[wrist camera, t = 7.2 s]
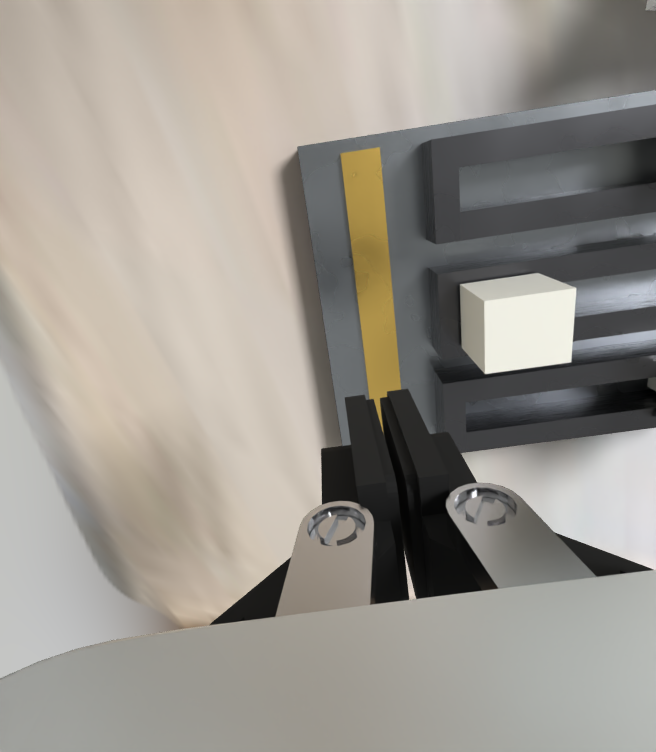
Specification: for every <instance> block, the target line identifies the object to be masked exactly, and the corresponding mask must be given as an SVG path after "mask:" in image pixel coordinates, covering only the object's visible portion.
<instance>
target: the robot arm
mask: <svg viewBox="0 0 656 752" xmlns="http://www.w3.org/2000/svg"><path fill="white" fill-rule="evenodd" d="M345 405H346V412H347V420H348V427H349V435H350V442H351V445H345V446H338V447H331V448H323V449H321V463H322V505H320V506H318V507H316V508H315V509H313V510H311V511H310V512H309V513H308V514H307V515H306V516H305V517H304V518H303V520H302V522H301V524H300V527H299V530H298V534H297V538H296V542H295V545H294V549H293V553H292V556H291V558H289V559H288V560H287V561H286V562H285V563H283V564H282V565H281V566H280V567H278V568H277V569H276V570H275V571H274V572H272V573H271V574H270V575H269V576H268V577H266V578H265V579H264V580H263V581H262V582H260V583H259V584H258V585H257V586H256V587H254V588H253V589H252V590H251V591H250V592H248V593H247V594H246V595H245V596H243V597H242V598H241V599H240V600H239V601H237V602H236V603H235V604H234V605H233V606H231V607H230V608H229V609H228V610H227V611H225V612H224V613H223V614H222V615H221V616H219V617H218V618H217V619H216V620H214V621H213V622H212V623H211V624H210V625H209V626H201V627H194V628H186V629H179V630H173V631H166V632H160V633H154V634H148V635H142V636H136V637H130V638H123V639H117V640H111V641H107V642H104V643H99V644H95V645H91V646H86V647H82V648H78V649H75V650H72V651H69V652H66V653H63V654H60V655H57V656H54V657H51V658H48V659H45V660H42V661H39V662H37V663H34V664H33V665H30V666H28V667H25V668H23V669H21V670H19V671H16V672H14V673H12V674H9V675H7V676H5V677H3V678H0V752H656V570H653V569H651V568H648V567H645V566H643V565H640V564H637V563H635V562H632V561H629V560H627V559H624V558H621V557H619V556H616V555H613V554H611V553H608V552H605V551H603V550H600V549H597V548H595V547H592V546H589V545H586V544H584V543H581V542H578V541H576V540H573V539H570V538H568V537H565V536H562V535H560V534H557V533H554V532H553V531H552V530H551V528H550V527H549V526H548V525H547V524H546V523H545V522H544V521H543V520H542V519H541V518H540V517H539V516H538V515H537V514H536V513H535V512H534V511H533V510H532V509H531V508H530V507H529V505H528V504H527V503H526V502H525V501H524V500H523V499H522V498H521V497H520V496H518V495H517V494H516V493H515V492H513V491H512V490H510V489H507V488H505V487H503V486H500V485H495V484H491V483H477V482H476V480H475V478H474V476H473V475H472V473H471V471H470V469H469V467H468V466H467V464H466V462H465V460H464V458H463V457H462V455H461V453H460V451H459V450H458V448H457V446H456V444H455V442H454V441H453V439H452V437H451V435H450V434H449V433H448V432H441V433H434V434H429V431H428V429H427V427H426V425H425V423H424V421H423V419H422V417H421V415H420V413H419V410H418V408H417V406H416V404H415V402H414V400H413V398H412V396H411V394H410V392H409V390H408V389H401V390H394V391H387V397H383V398H380V407H381V416H382V425H383V431H382V427H381V423H380V420H379V416H378V413H377V409H376V405H375V402H374V399H368V400H366V398H365V395H358V396H351V397H345ZM404 551H405V555H406V559H407V563H408V567H409V571H410V576H411V580H412V584H413V588H414V592H415V596H416V599H413V600H409V594H408V584H407V575H406V565H405V555H404Z"/></svg>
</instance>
